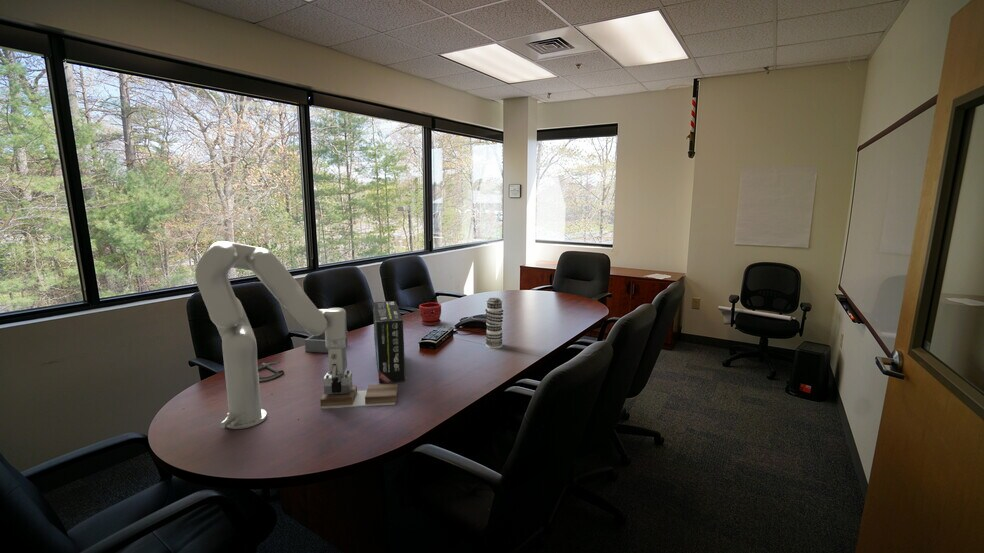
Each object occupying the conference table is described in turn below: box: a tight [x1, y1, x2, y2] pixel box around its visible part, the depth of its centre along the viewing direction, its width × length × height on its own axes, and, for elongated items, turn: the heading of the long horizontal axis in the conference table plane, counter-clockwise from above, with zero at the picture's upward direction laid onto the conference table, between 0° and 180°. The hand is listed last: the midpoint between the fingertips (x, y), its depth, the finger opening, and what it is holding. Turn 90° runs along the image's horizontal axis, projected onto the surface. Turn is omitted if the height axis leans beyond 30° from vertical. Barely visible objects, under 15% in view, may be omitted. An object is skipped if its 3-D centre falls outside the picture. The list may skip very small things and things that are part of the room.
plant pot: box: [418, 302, 442, 327], centre depth 269 cm, size 13×13×12 cm
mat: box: [320, 390, 397, 410], centre depth 166 cm, size 26×13×1 cm, turn 98°
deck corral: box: [304, 332, 329, 354], centre depth 223 cm, size 14×14×6 cm
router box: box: [372, 300, 406, 384], centre depth 195 cm, size 36×11×27 cm, turn 17°
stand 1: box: [319, 385, 358, 407], centre depth 165 cm, size 11×11×3 cm
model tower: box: [484, 297, 504, 350], centre depth 227 cm, size 9×9×25 cm
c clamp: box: [258, 361, 285, 383], centre depth 191 cm, size 20×17×3 cm
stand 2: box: [365, 383, 399, 404], centre depth 167 cm, size 11×11×3 cm
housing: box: [323, 370, 353, 394], centre depth 164 cm, size 6×9×7 cm, turn 98°
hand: (338, 388), depth 164 cm, fingers closed on housing, 6 cm apart
